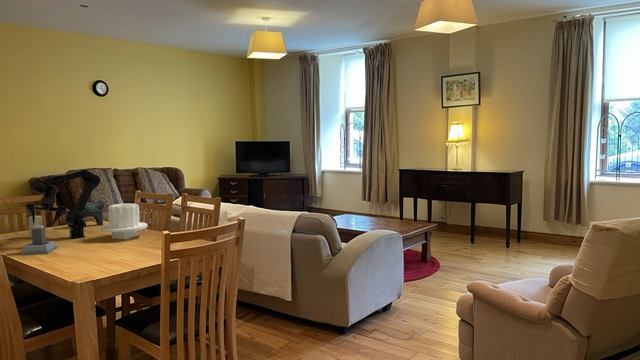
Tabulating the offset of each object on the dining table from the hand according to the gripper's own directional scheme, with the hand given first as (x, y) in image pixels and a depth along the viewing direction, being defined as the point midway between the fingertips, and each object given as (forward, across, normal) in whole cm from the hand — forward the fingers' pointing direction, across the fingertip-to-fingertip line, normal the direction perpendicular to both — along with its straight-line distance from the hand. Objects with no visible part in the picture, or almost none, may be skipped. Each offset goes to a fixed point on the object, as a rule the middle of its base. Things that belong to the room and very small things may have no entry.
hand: (43, 223), depth 253 cm
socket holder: (+16, +1, -3) cm, 16 cm away
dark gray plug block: (+15, +1, -4) cm, 16 cm away
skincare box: (-3, -8, +34) cm, 35 cm away
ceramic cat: (-19, +17, +54) cm, 60 cm away
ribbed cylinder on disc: (0, +41, +13) cm, 43 cm away
